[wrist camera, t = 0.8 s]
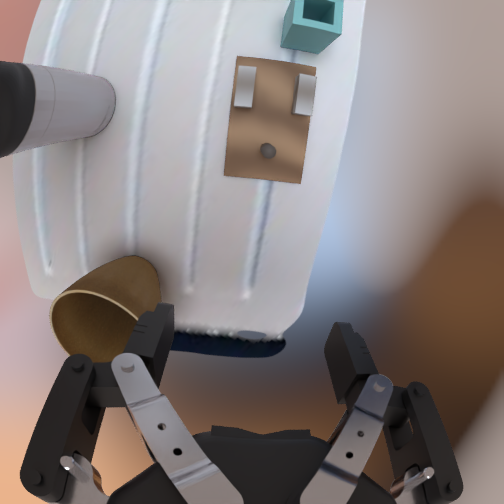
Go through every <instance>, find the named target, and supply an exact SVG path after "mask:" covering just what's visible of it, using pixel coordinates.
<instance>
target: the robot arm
mask: <svg viewBox="0 0 504 504" xmlns="http://www.w3.org/2000/svg"><path fill="white" fill-rule="evenodd" d="M114 108H115V93H114V90H113V88H112V86H111V84H110V83H109V82H108V81H107V80H106V79H104V78H102V77H98V76H93V75H89V74H85V73H81V72H76V71H71V70H65V69H60V68H54V67H48V66H41V65H33V64H24V63H14V62H13V63H12V62H5V61H0V158H1V157H4V156H8V155H11V154H15V153H18V152H22V151H25V150H29V149H33V148H37V147H41V146H45V145H49V144H54V143H58V142H63V141H68V140H74V139H79V138H85V137H90V136H93V135H95V134H97V133H99V132H100V131H102V130H103V129H104V128H105V126H106V125H107V124H108V122H109V121H110V119H111V117H112V115H113V112H114ZM173 337H174V305H173V304H167V303H161V302H158V304H157V306H156V308H155V310H154V312H152V311H146V312H145V313H143V314H142V315H141V316H140V317H139V319H138V321H137V323H136V325H135V327H134V329H133V331H132V333H131V335H130V338H129V340H128V342H127V344H126V346H125V348H124V351H123V353H122V354H120V355H118V356H116V357H115V358H114V359H113V361H111V362H92V360H91V359H90V357H88V356H87V355H84V354H74V355H71V356H69V357H68V358H67V359H66V360H65V362H64V364H63V366H62V368H61V370H60V372H59V374H58V376H57V378H56V380H55V383H54V385H53V387H52V389H51V391H50V393H49V395H48V398H47V400H46V402H45V405H44V407H43V409H42V412H41V414H40V416H39V419H38V421H37V424H36V427H35V429H34V432H33V434H32V437H31V440H30V443H29V445H28V449H27V451H26V454H25V457H24V460H23V464H22V467H21V470H20V479H21V482H22V484H23V486H24V487H25V489H26V490H27V491H28V492H30V493H31V494H33V495H34V496H36V497H38V498H40V499H42V500H44V501H45V502H48V503H49V504H449V503H451V502H453V501H454V500H456V499H458V498H459V497H460V495H461V493H462V491H463V482H462V478H461V475H460V472H459V469H458V465H457V462H456V459H455V456H454V453H453V450H452V447H451V445H450V442H449V439H448V436H447V433H446V431H445V428H444V425H443V423H442V421H441V418H440V415H439V413H438V411H437V408H436V406H435V403H434V401H433V399H432V396H431V394H430V392H429V390H428V388H427V387H426V386H425V385H424V384H422V383H420V382H411V383H410V384H409V385H408V386H407V387H406V388H403V387H398V386H393V384H392V382H391V381H390V380H389V379H388V378H387V377H385V376H383V375H380V374H379V373H378V371H377V369H376V366H375V364H374V361H373V359H372V357H371V355H370V354H369V353H370V352H369V350H368V348H367V345H366V343H365V341H364V339H363V338H362V337H361V336H360V335H359V334H358V333H354V331H353V329H352V326H351V324H350V323H344V322H335V323H334V325H333V327H332V329H331V332H330V334H329V336H328V339H327V341H326V344H325V348H324V353H325V358H326V361H327V365H328V369H329V372H330V376H331V380H332V384H333V388H334V391H335V395H336V399H337V403H338V404H346V406H347V410H346V411H345V413H344V415H343V417H342V418H341V420H340V422H339V424H338V425H337V427H336V428H335V430H334V432H333V433H332V435H331V436H330V438H329V439H328V441H327V442H326V441H324V440H322V439H320V438H317V437H314V436H311V434H310V430H284V431H280V432H274V433H269V434H264V435H262V434H257V433H253V432H249V431H246V430H243V429H239V428H234V427H223V426H213V425H212V429H211V431H209V432H203V433H199V434H195V435H193V436H191V434H190V433H189V431H188V430H187V428H186V427H185V425H184V424H183V422H182V421H181V419H180V418H179V416H178V415H177V413H176V412H175V410H174V409H173V407H172V405H171V404H170V402H169V401H168V399H167V397H166V396H165V395H164V394H160V392H159V390H158V389H159V386H160V382H161V378H162V375H163V371H164V368H165V364H166V361H167V358H168V354H169V351H170V348H171V344H172V341H173ZM106 407H125V408H126V410H127V412H128V414H129V416H130V419H131V421H132V423H133V424H134V427H135V429H136V430H137V432H138V434H139V436H140V438H141V440H142V442H143V444H144V446H145V448H146V450H147V452H148V454H149V455H150V457H151V459H152V460H153V462H154V464H153V465H151V466H150V467H148V468H147V469H146V470H144V471H143V472H142V473H140V474H139V475H137V476H136V477H134V478H133V479H132V480H130V481H129V482H127V483H126V484H124V485H123V486H121V487H120V488H118V489H117V490H115V491H114V492H113V493H112V494H111V496H110V497H109V496H107V495H106V494H105V493H104V491H103V489H102V486H101V476H100V474H99V472H98V471H97V470H96V469H95V467H94V466H93V465H91V461H92V457H93V453H94V449H95V445H96V441H97V437H98V433H99V430H100V427H101V423H102V420H103V416H104V412H105V409H106ZM409 420H410V422H411V425H412V428H413V434H412V431H411V428H410V424H409ZM382 427H383V431H384V435H385V439H386V443H387V447H388V451H389V455H390V459H391V464H392V469H393V473H394V477H395V480H394V481H393V483H392V485H391V490H390V492H387V491H386V490H385V489H383V488H382V487H381V486H380V485H378V484H377V483H376V482H375V481H373V480H372V479H371V478H370V477H368V476H367V475H366V474H365V473H363V472H362V470H363V468H364V466H365V464H366V462H367V460H368V458H369V456H370V454H371V452H372V450H373V447H374V445H375V443H376V441H377V438H378V436H379V434H380V432H381V429H382Z"/></svg>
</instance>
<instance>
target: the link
mask: <svg viewBox="0 0 504 504" xmlns="http://www.w3.org/2000/svg"><path fill="white" fill-rule="evenodd" d="M342 18H343V0H291V2H290V4H289V6H288V9H287V11H286V14H285V16H284V23H283V32H282V40H281V47H283V48H289V49H295V50H301V51H306V52H311V53H316V54H319V53H320V52H321V51H322V50H324V49H325V48H326V47H327V46H328V45H329V44H330V43H332V42H333V41H334V40H335V39H336V38H338V37H339V36H340V35H341V33H342Z"/></svg>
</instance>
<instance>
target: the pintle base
mask: <svg viewBox="0 0 504 504" xmlns="http://www.w3.org/2000/svg"><path fill="white" fill-rule="evenodd" d="M315 75H316V67H312V66H307V65H301V64H296V63H290V62H284V61H277V60H270V59H262V58H253V57H242V56H237V60H236V68H235V76H234V84H233V92H232V101H231V110H230V119H229V128H228V138H227V148H226V158H225V169H224V176H235V177H246V178H256V179H265V180H274V181H282V182H290V183H298V184H301V178H302V171H303V165H304V158H305V151H306V144H307V137H308V130H309V123H310V116H312V112H313V104H314V96H315V88H316V79H317V77H316V76H315Z"/></svg>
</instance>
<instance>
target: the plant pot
mask: <svg viewBox="0 0 504 504" xmlns="http://www.w3.org/2000/svg"><path fill="white" fill-rule="evenodd" d="M158 302H161V294H160V286H159V280H158V276H157V273H156V270H155V269H154V267H153V266H152V265H151V263H149V262H148V261H147V260H145V259H143V258H141V257H138V256H127V257H123V258H120V259H117V260H114V261H111V262H109V263H107V264H104V265H102V266H100V267H98V268H96V269H95V270H93V271H91V272H90V273H88V274H86V275H85V276H83V277H82V278H80V279H79V280H78V281H76V282H75V283H74V284H72V285H71V286H70V287H68V288H67V289H66V290H65V291H63V292H62V293H61V294H60V295H59V296H57V297H56V299H55V300H54V301H53V303H52V305H51V308H50V315H49V316H50V325H51V328H52V331H53V334H54V336H55V338H56V340H57V342H58V343H59V345H60V346H61V347H62V349H63V350H64V351H65V352H66V354H67V355H68V356H71V355H74V354H84V355H87V356H88V357H90V359H91V360H92V362H111V361H113V359H114V358H115V357H116V356H118V355H120V354H122V353H123V351H124V348H125V346H126V344H127V342H128V340H129V338H130V335H131V333H132V331H133V329H134V327H135V325H136V323H137V321H138V319H139V317H140V316H141V315H142V314H143V313H145V312H146V311H152V312H154V310H155V308H156V306H157V304H158Z"/></svg>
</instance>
